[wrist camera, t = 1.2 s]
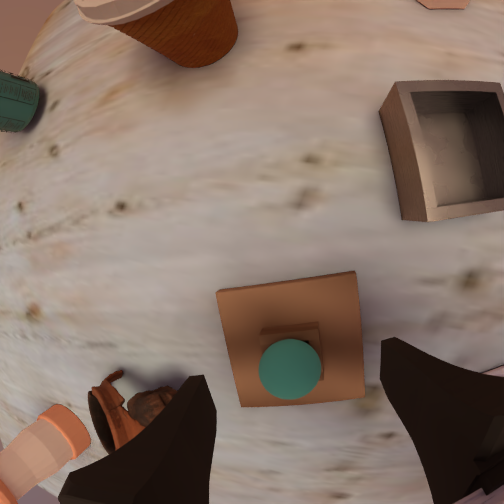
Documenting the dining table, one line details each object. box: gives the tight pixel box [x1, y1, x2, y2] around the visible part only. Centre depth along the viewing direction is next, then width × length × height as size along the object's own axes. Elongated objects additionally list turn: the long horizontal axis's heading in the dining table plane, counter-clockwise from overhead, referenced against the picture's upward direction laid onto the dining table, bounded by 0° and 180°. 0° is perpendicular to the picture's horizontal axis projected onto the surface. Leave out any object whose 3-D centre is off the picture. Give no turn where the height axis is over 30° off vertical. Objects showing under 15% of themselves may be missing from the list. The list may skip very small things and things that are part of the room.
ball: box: [259, 339, 321, 400], centre depth 18 cm, size 4×4×4 cm
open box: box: [379, 80, 504, 222], centre depth 16 cm, size 8×8×6 cm
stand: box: [216, 271, 365, 407], centre depth 21 cm, size 10×10×2 cm
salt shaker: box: [0, 404, 91, 504], centre depth 21 cm, size 7×7×19 cm
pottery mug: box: [88, 370, 177, 454], centre depth 24 cm, size 12×9×8 cm
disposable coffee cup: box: [74, 0, 238, 68], centre depth 15 cm, size 10×10×12 cm
